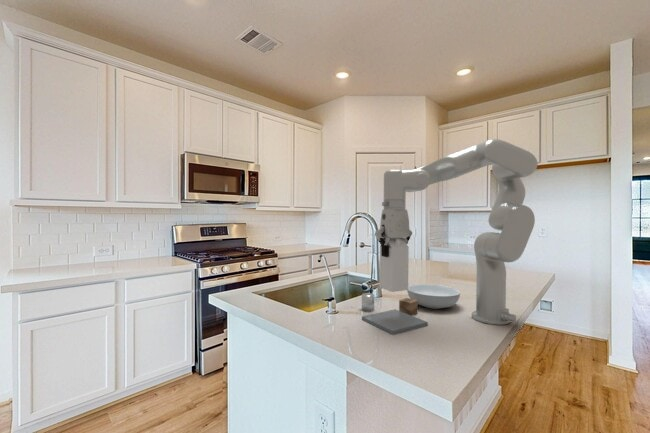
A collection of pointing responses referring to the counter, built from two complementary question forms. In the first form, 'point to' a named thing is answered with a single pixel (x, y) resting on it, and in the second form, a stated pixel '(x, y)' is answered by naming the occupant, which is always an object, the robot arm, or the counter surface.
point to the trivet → (394, 321)
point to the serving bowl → (433, 295)
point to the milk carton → (395, 266)
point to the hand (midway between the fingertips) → (394, 255)
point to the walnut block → (408, 306)
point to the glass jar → (368, 302)
